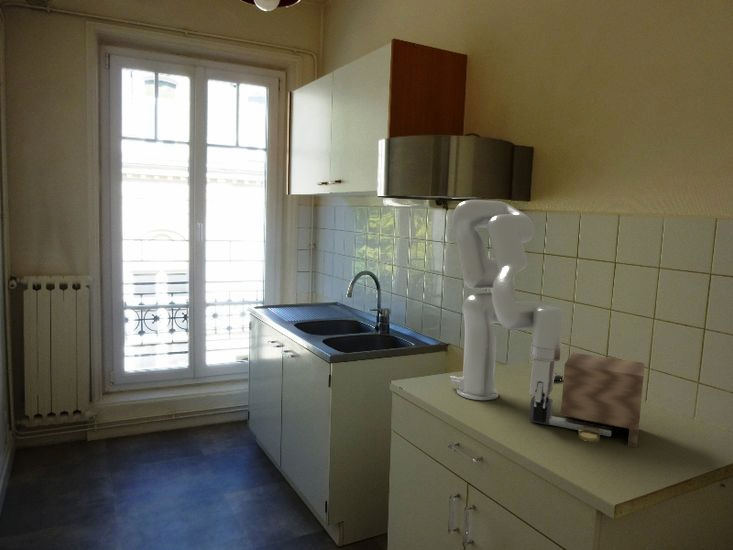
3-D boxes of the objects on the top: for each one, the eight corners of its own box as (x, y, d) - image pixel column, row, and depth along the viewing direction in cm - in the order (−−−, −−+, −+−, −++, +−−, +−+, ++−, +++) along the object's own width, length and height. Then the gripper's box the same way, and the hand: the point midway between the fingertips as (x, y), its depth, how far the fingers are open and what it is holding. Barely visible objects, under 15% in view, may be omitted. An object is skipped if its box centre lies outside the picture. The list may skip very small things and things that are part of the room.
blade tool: (529, 421, 145) (531, 399, 145) (532, 416, 148) (533, 395, 148) (610, 437, 136) (612, 414, 136) (611, 432, 139) (613, 410, 139)
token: (577, 439, 136) (577, 432, 135) (579, 432, 140) (579, 426, 140) (598, 443, 133) (599, 436, 133) (600, 436, 138) (600, 430, 138)
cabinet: (559, 431, 140) (564, 364, 138) (567, 414, 152) (572, 352, 150) (636, 447, 132) (643, 376, 130) (638, 428, 144) (644, 362, 142)
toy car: (563, 381, 184) (565, 359, 183) (534, 384, 180) (536, 361, 179) (556, 378, 188) (558, 356, 187) (527, 381, 184) (528, 358, 183)
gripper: (536, 344, 153) (532, 407, 155) (524, 357, 138) (519, 426, 140) (564, 348, 149) (559, 412, 151) (555, 361, 135) (550, 432, 137)
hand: (540, 418), depth 146 cm, fingers closed on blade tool, 3 cm apart
